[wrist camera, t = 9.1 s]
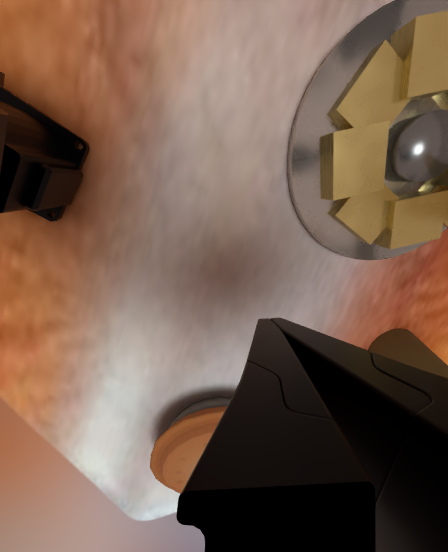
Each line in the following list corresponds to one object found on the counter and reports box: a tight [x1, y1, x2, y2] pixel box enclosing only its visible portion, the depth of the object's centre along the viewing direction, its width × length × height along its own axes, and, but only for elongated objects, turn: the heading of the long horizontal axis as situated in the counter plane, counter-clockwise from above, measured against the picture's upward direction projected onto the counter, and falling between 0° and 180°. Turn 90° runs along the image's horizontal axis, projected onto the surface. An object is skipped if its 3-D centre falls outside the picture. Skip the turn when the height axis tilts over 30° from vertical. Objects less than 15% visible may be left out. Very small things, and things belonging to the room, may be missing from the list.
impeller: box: [287, 0, 448, 260], centre depth 17 cm, size 18×18×3 cm
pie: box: [150, 397, 231, 493], centre depth 27 cm, size 15×16×5 cm
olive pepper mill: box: [368, 329, 448, 378], centre depth 22 cm, size 6×6×11 cm
